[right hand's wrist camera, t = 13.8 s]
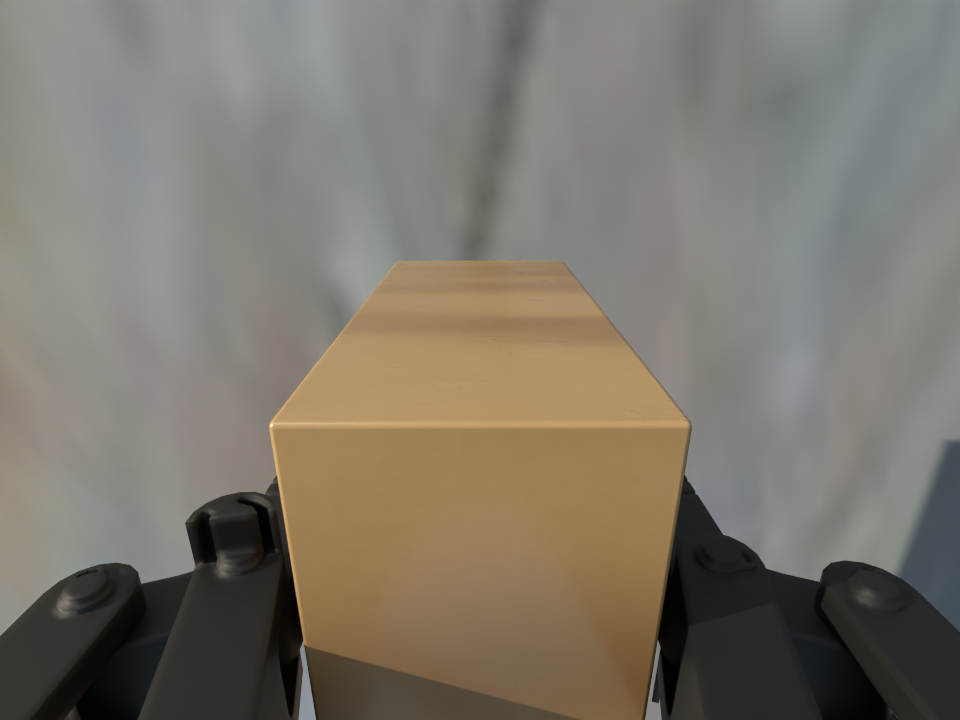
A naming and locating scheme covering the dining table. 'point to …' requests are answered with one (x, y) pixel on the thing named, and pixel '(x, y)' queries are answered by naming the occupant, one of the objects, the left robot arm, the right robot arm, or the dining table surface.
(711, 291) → the dining table surface
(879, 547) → the dining table surface
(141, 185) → the dining table surface
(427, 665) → the bar
